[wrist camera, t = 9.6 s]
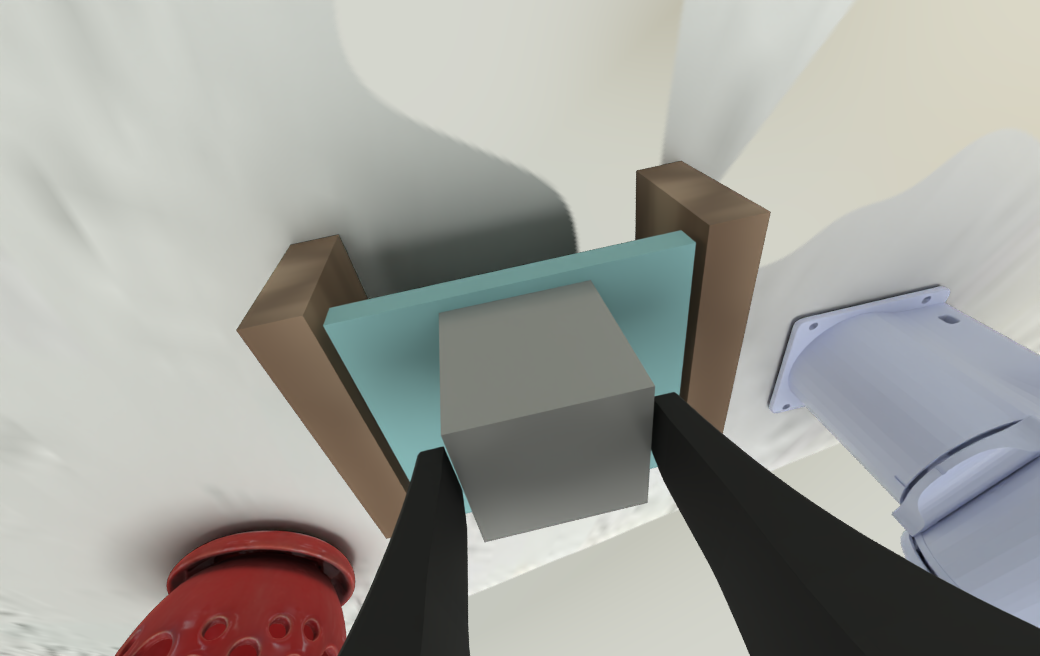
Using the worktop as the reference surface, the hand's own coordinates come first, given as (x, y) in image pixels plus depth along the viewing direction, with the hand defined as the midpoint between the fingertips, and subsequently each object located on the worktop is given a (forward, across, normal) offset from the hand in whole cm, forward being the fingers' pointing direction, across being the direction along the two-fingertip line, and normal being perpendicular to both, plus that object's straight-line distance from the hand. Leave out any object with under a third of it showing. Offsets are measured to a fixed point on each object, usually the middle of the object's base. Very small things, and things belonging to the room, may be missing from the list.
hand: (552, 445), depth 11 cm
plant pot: (+11, +21, +20) cm, 31 cm away
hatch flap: (+8, 0, +4) cm, 9 cm away
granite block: (+4, 0, 0) cm, 4 cm away
